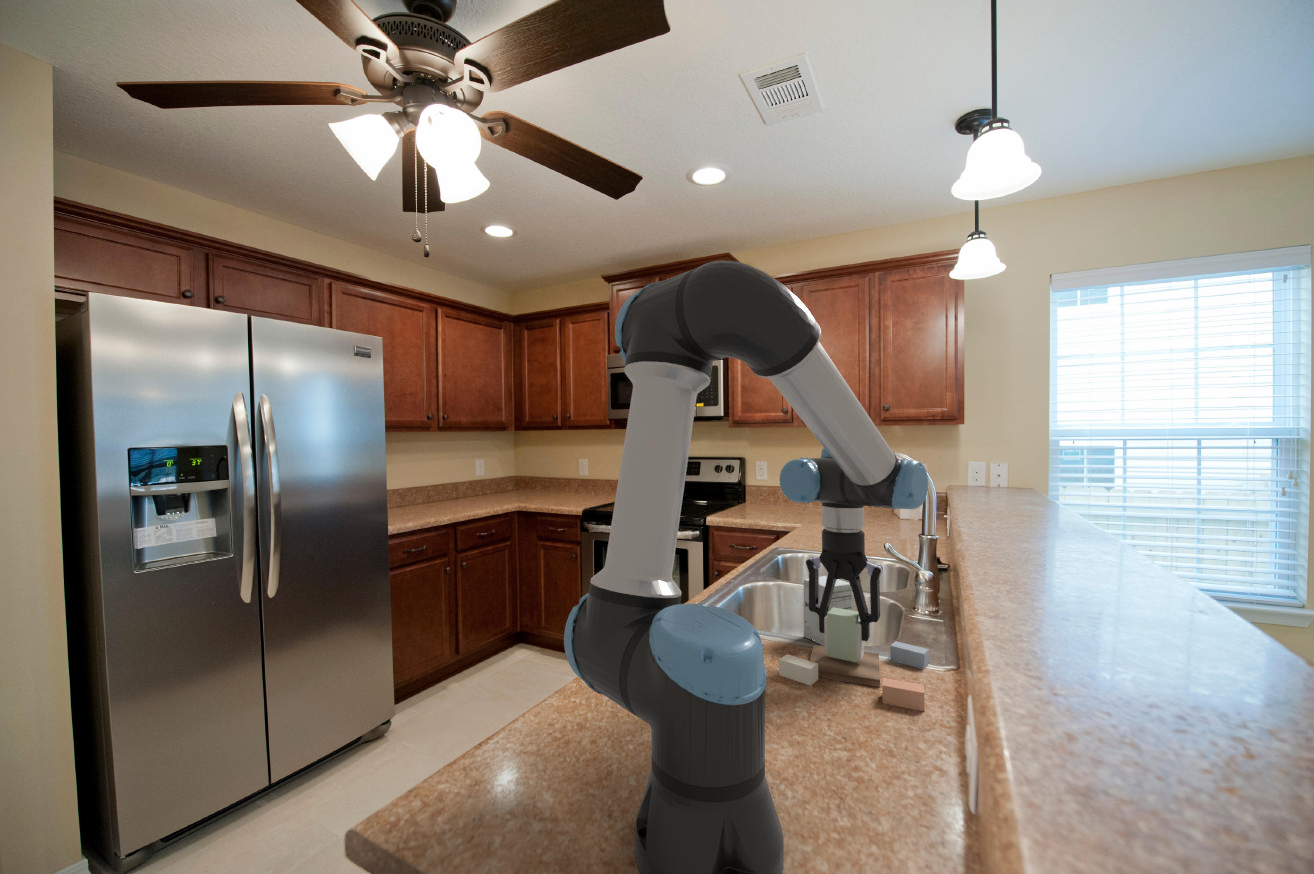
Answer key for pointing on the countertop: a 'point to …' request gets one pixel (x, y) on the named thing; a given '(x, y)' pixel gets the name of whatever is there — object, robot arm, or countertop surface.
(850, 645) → the sage brick
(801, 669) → the cream brick
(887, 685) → the terracotta brick
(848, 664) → the walnut board
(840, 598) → the supplement box
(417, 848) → the countertop surface
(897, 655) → the slate brick
